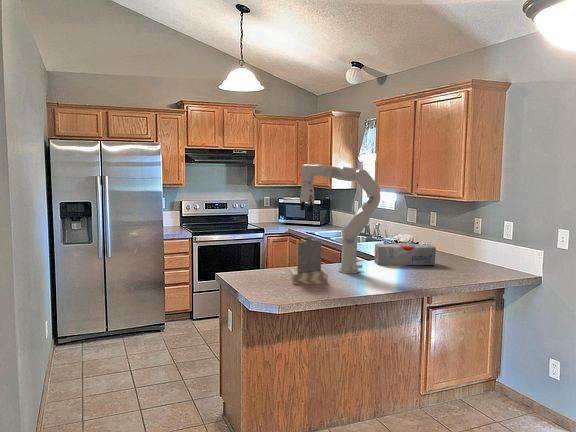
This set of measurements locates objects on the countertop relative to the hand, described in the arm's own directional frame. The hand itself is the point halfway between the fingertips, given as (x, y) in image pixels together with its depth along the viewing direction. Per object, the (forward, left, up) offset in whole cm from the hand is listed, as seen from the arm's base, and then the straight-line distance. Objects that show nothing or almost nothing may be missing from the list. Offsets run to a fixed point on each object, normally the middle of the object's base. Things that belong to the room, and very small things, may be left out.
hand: (306, 210), depth 303 cm
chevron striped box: (+12, +26, -39) cm, 48 cm away
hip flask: (+12, +26, -33) cm, 44 cm away
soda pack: (-75, +9, -39) cm, 85 cm away
